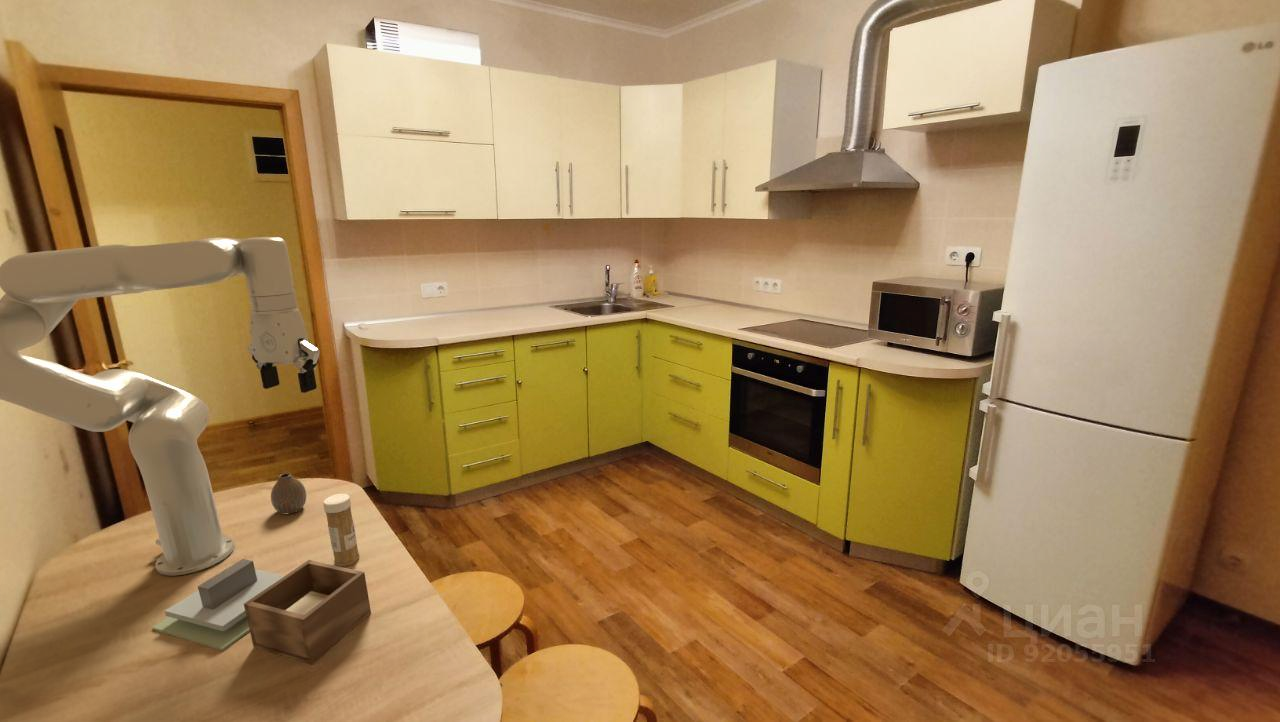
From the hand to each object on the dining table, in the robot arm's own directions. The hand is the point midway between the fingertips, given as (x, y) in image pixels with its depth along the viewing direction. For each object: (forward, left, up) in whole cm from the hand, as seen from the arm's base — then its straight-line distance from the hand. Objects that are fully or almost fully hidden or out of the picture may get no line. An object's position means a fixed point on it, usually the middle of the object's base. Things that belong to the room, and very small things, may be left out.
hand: (290, 388), depth 115 cm
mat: (+6, -23, -32) cm, 40 cm away
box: (+24, -23, -32) cm, 46 cm away
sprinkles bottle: (+14, -6, -32) cm, 36 cm away
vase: (-14, +6, -33) cm, 36 cm away
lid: (+6, -23, -32) cm, 40 cm away
